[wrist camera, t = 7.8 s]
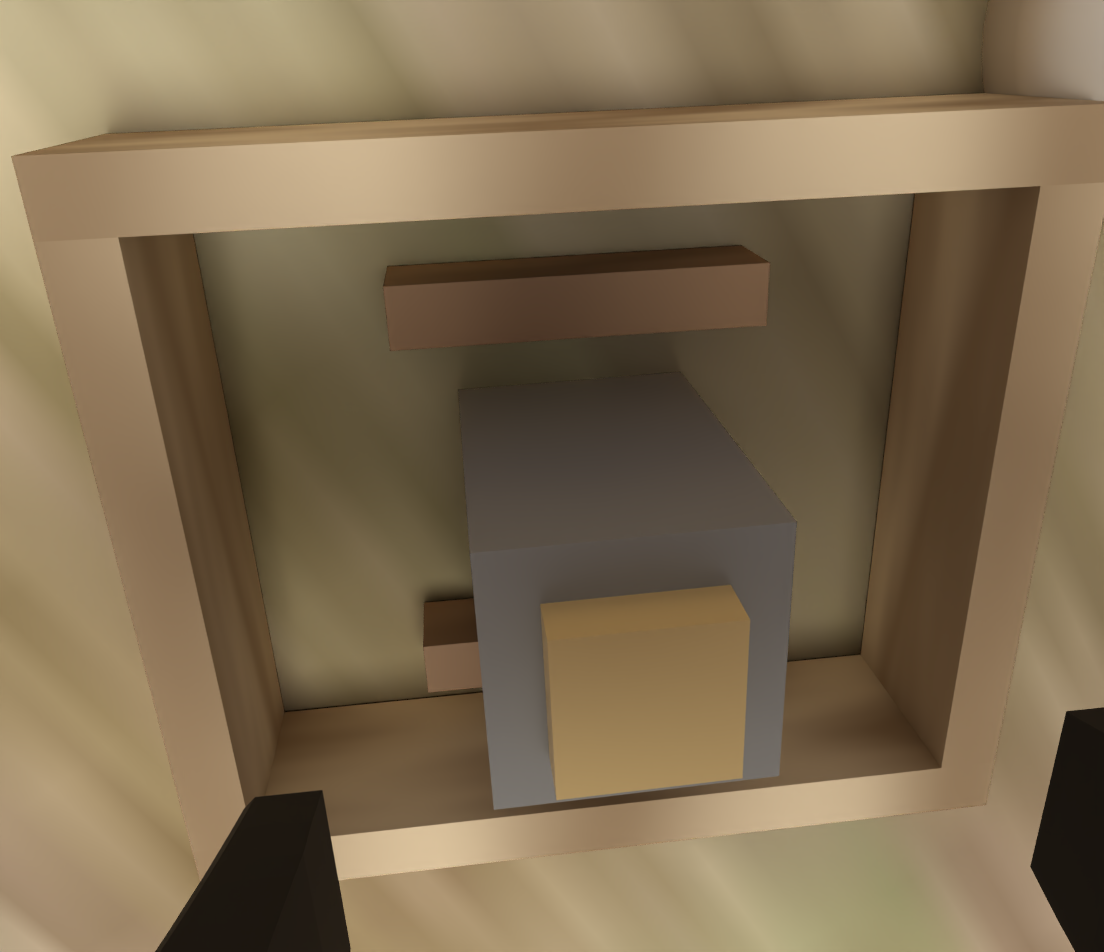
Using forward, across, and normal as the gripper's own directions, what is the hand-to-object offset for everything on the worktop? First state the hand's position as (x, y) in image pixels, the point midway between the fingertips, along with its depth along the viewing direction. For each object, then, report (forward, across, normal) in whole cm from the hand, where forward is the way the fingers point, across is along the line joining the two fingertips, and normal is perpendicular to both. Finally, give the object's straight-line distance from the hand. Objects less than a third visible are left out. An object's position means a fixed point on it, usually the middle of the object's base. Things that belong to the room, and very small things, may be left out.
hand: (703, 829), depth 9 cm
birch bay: (+9, 0, 0) cm, 9 cm away
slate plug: (+9, 0, 0) cm, 9 cm away
